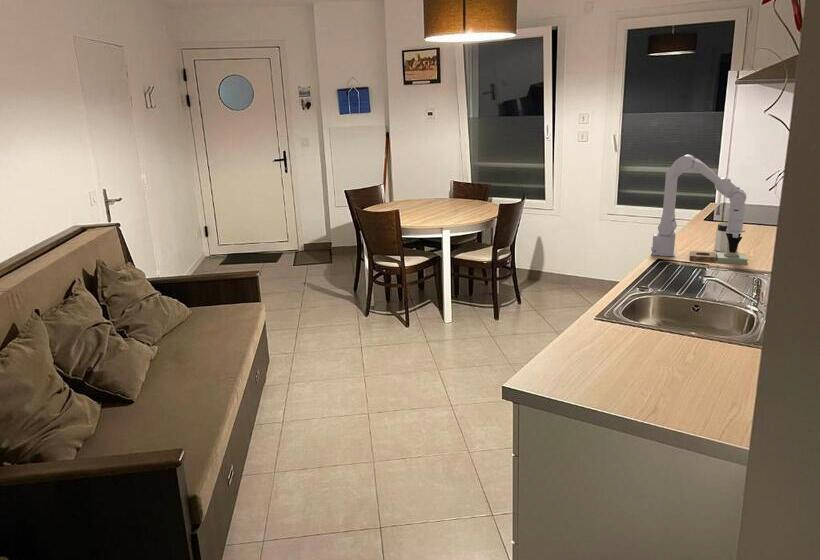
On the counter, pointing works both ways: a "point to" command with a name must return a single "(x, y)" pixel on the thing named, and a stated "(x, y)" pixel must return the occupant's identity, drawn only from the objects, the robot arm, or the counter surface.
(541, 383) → the counter surface
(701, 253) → the socket block
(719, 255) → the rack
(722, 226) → the jar
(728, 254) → the peg
